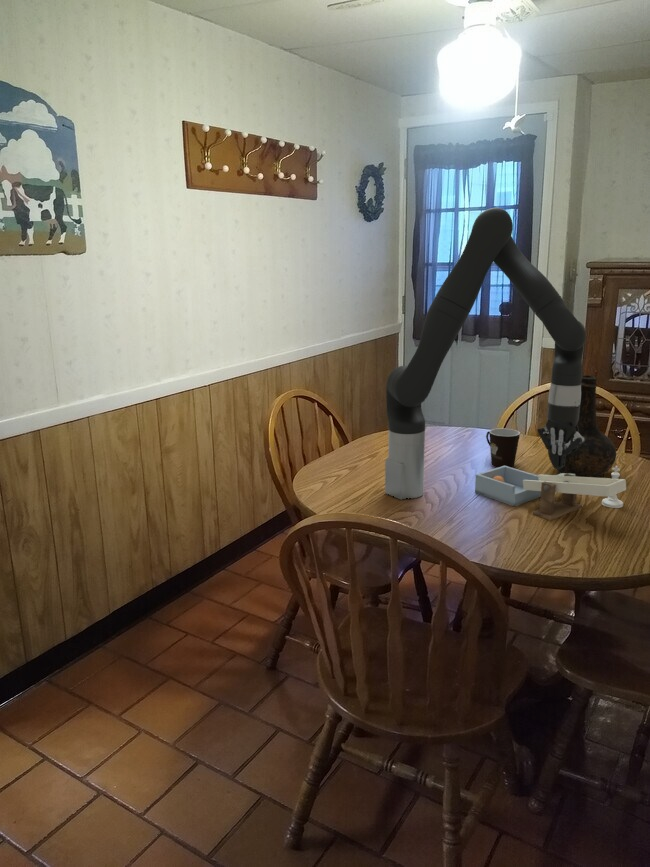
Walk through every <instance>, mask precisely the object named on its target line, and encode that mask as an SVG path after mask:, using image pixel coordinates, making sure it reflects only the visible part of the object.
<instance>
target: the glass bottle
mask: <svg viewBox="0 0 650 867" xmlns="http://www.w3.org/2000/svg"><path fill="white" fill-rule="evenodd" d="M597 380H598V378H597V376H594V375H589V374H587V375H586V374H585V375H583V374H582V380H581V402H580V412H579V420H578V423H577V426H578V429H579V431H578V432H579V434H580V435H581V436H582V437H583V436H584V437H586V441H585V442H584V443H583V444H581V445H580V446H579V447H578V448H577V449H576V450H575V451H574V452H573V453H570V454H567V455H566V459H565V466H564V467H563V468H561V469H557V468H555V470H556V471H557V472H558V473H559V474H561V473H567V474H575V476H577V477H593V478H600V477H601V476H603V475H605V474H607V472H609V471H610V470H611V469H612V468H613V466H614V464H615V462H616V458H617V449H616V448H617V447H616V445H615V444H614V442H613V441H612V439H611V438H609V437H608V436H607V435H606V434H604V433H602V432H601V430H600V429H599V425H598V421H597V419H598V418H597V411H596V408H597V403H596V402H597V400H596V399H597V396H596V393H597V387H599V385H598V383H597ZM573 438H574V437H573ZM573 438H572V439H571V441H570V445H571V444H572V443H573V442H574V441H573ZM570 445H569V446H570ZM569 446H568V447H569ZM547 453H548V457H549V461H550V463H551V464H552V457H553V453H552V451H550V450H547Z"/></svg>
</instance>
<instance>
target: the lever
mask: <svg viewBox="0 0 650 867" xmlns="http://www.w3.org/2000/svg"><path fill="white" fill-rule="evenodd" d="M564 474H567V473H559V474H555V475H554V474H537V475H538V479H539V481H537V480H523V488H524V490H532V491H541V486H542V482H548V483H551V484H555V485H556V488H555V493H556V494H558V493H559V494H563V493H569V494H576V495H582V496H583V495H584V496H594V497H595V496H597V497H606V498H608V497H610V496H613V495H615V494H620V493H622V492H624V491H626V490H627V482H626V479H625V478H618V479H612V477H611V478H610V477H609V478H608V477H596V478H593V477H576V476H575V474H570V475H574V476H564Z"/></svg>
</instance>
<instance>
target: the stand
mask: <svg viewBox="0 0 650 867" xmlns="http://www.w3.org/2000/svg"><path fill="white" fill-rule="evenodd" d="M564 476H574V475H570V474H564ZM576 477H577V476H576ZM555 488H556V485H555V484H551V483H548V482H542V486H541V497H540V500H539V501H540V502H539V508H538V509H536V510H534V511H532V515H534V516H537V517H540V518H543V519H545V520H548V521H553V520H555V519H558V518H560V517H562V516H565V515H567V514H569V513H572V512H575V511H577V510H579V509H581V508H583V504H581V503H577V502H576V501H577V494H569V493H561V494H562V495H561V496H562V497H561V500H560V501H557V502H555V499H556V492H555Z"/></svg>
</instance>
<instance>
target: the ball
mask: <svg viewBox="0 0 650 867" xmlns="http://www.w3.org/2000/svg"><path fill="white" fill-rule="evenodd" d="M493 479H495V480H498V481H501V482H504V479H503V478H502V477H501V476H495V477H494V478H493Z"/></svg>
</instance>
